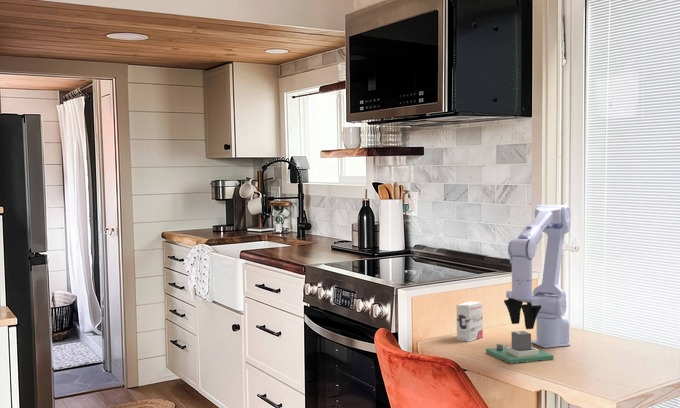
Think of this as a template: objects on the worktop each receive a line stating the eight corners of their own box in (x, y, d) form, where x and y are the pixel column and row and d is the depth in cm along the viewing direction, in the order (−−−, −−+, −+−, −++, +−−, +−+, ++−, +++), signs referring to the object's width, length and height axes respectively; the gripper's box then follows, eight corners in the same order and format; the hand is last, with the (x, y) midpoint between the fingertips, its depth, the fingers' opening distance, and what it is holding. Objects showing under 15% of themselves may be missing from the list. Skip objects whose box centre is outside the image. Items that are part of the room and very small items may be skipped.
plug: (523, 351, 203) (523, 329, 203) (531, 354, 199) (531, 332, 199) (511, 352, 202) (511, 330, 202) (519, 355, 198) (518, 333, 198)
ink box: (470, 335, 230) (470, 300, 230) (483, 337, 227) (483, 302, 227) (456, 340, 224) (455, 304, 224) (469, 342, 221) (469, 305, 220)
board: (526, 348, 211) (526, 339, 211) (553, 359, 198) (553, 349, 198) (486, 352, 207) (485, 343, 207) (510, 364, 194) (510, 354, 194)
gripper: (497, 277, 206) (497, 322, 206) (523, 284, 192) (523, 332, 192) (517, 276, 208) (518, 320, 208) (545, 282, 194) (545, 330, 194)
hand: (522, 326), depth 200 cm, fingers open, 7 cm apart
